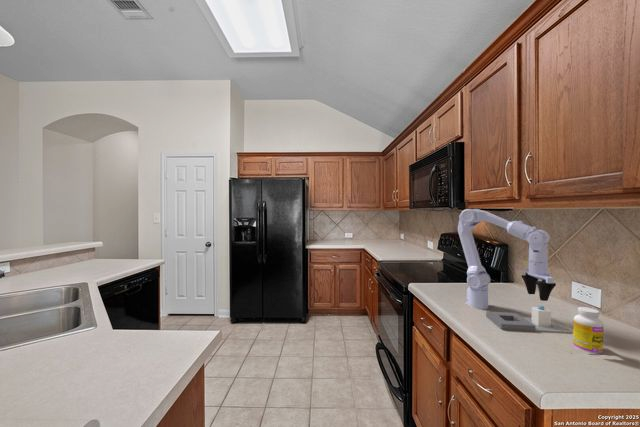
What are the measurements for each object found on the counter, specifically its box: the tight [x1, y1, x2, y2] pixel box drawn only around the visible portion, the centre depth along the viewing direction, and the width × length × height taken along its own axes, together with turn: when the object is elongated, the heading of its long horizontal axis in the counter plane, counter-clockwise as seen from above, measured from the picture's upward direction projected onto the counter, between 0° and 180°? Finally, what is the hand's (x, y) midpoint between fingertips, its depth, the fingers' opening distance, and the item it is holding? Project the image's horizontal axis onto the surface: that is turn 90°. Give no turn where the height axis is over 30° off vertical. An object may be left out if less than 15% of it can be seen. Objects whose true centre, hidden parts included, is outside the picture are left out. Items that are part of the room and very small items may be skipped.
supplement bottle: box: [572, 306, 604, 356], centre depth 85 cm, size 7×7×13 cm
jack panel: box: [485, 310, 571, 334], centre depth 102 cm, size 12×22×3 cm, turn 82°
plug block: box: [531, 305, 552, 327], centre depth 102 cm, size 4×4×8 cm
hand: (537, 297), depth 105 cm, fingers open, 7 cm apart
